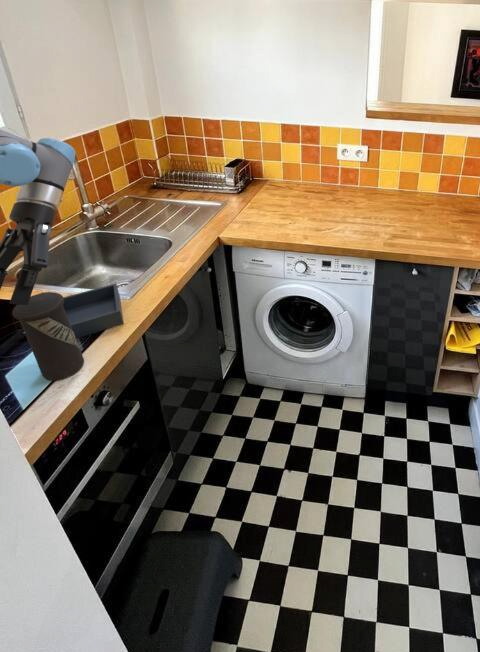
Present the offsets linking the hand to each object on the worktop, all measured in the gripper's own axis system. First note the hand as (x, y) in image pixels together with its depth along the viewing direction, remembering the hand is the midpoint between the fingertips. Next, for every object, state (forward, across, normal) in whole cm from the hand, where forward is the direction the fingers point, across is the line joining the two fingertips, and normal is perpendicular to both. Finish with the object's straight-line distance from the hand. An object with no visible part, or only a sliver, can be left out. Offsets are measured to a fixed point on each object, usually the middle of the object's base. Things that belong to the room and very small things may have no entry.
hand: (1, 304), depth 78 cm
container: (+13, +8, -19) cm, 24 cm away
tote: (0, +17, -28) cm, 33 cm away
